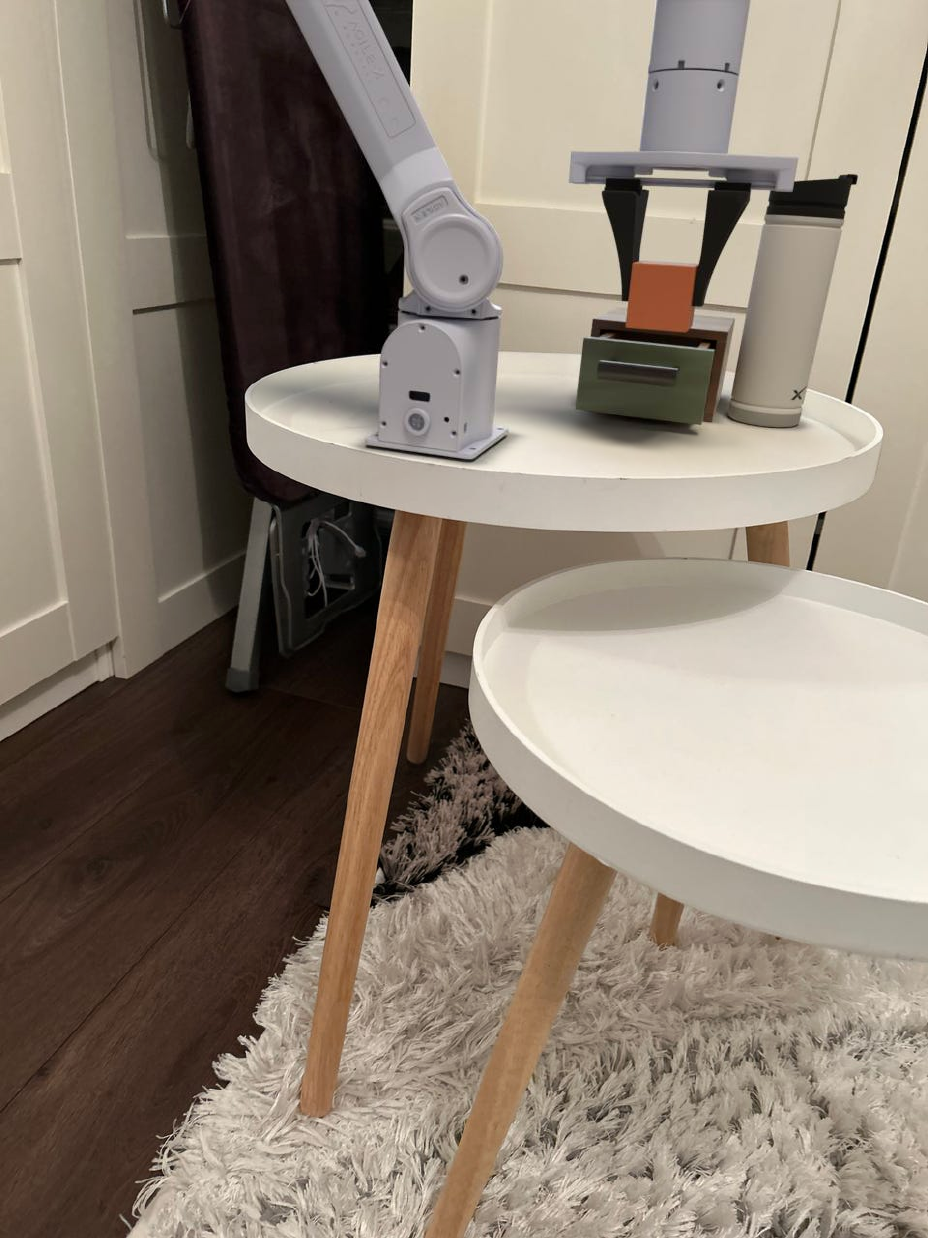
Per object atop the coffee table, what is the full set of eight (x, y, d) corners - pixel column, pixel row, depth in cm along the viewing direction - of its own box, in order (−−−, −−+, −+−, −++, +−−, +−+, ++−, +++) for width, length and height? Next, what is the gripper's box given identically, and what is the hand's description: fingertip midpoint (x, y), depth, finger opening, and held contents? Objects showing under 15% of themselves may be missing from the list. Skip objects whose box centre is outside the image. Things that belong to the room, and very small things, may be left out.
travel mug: (812, 430, 77) (871, 173, 68) (737, 425, 76) (786, 167, 68) (790, 415, 82) (841, 176, 74) (719, 410, 82) (763, 171, 74)
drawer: (696, 436, 67) (710, 358, 65) (563, 419, 70) (571, 343, 67) (711, 399, 82) (722, 335, 80) (601, 386, 85) (608, 323, 82)
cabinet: (712, 421, 77) (728, 331, 74) (582, 405, 80) (592, 318, 77) (720, 397, 89) (735, 318, 86) (607, 383, 92) (617, 307, 89)
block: (686, 332, 60) (696, 266, 58) (625, 327, 61) (632, 262, 59) (692, 326, 64) (701, 264, 62) (634, 321, 65) (641, 260, 63)
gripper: (811, 86, 57) (771, 306, 63) (592, 84, 61) (573, 291, 67) (814, 69, 51) (770, 314, 57) (570, 69, 55) (552, 298, 61)
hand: (663, 303), depth 62 cm, fingers closed on block, 4 cm apart
